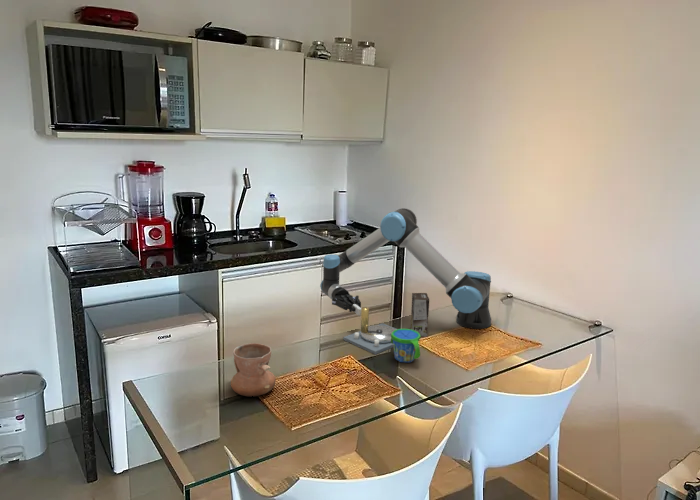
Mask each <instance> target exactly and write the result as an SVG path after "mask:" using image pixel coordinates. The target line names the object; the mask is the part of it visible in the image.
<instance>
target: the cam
mask: <svg viewBox="0 0 700 500" xmlns="http://www.w3.org/2000/svg"><path fill="white" fill-rule="evenodd" d="M369 315H370V308H369V307H368V306H361V315H360V317H361V319H360V331H361V337H362V339H364V340H366V341H368V342H372V343H374V342H375V340H376V339H378V340H379V343H389V342H391V334H392V332H393V331H394V330H395V329H394V328H395V327H394V328H391V327H392V326H391V327H388V326H389V325H388V326H382V325H379V324H376V325H369V318H370V317H369Z"/></svg>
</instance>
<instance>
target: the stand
mask: <svg viewBox="0 0 700 500" xmlns="http://www.w3.org/2000/svg"><path fill="white" fill-rule="evenodd" d="M378 325H382V326H388V327H391V328H394V329H395V330H397V329H398V328H396V327H393V326H390V325H389V324H386V323H384V322H382V323H379V324H378ZM342 338H343V339H342V340H343V341H345V342H347V343H349V342H350V343H349V344H351V343H352V345H353V346H355V347H359V348H360V349H363V350H364V351H367V352H369V353H371V354H373V355H378V354H380V353H383V352H385V351H387V350H390V349H392V348H393V344H392V343H391V342H389V343H379V340H378V339H376V340H375V342H374V343H372V342H368V341H366V340H364V339H362V337H361V330H359V331H355V332H354V333H351V334H349V335H345V336H343V337H342Z"/></svg>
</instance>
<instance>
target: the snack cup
mask: <svg viewBox="0 0 700 500" xmlns="http://www.w3.org/2000/svg"><path fill="white" fill-rule="evenodd" d="M396 329H397V330H394V331H393V332H392V334H391V343H392V344H393V347H392V348H393V355H394V359H395V360H396V361H398V362H400V363H405V364H407V363H412V362H413V361H414V360H417V359H419V358H420V357H421V351H420V344H419V343H420V342H419V341H420V340H421V337H422V336H420V334H419V333H418V332H417V331H415V330H411V328H396Z"/></svg>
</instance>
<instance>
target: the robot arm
mask: <svg viewBox="0 0 700 500" xmlns="http://www.w3.org/2000/svg"><path fill="white" fill-rule="evenodd" d="M417 222H418V219H417V216H416V213H414V212H413V211H412V210H411V209H408V208H399V209H395V210H394V211H391V212H389V213H387V214H386V215H385V216H384V217H382V219H381V222H380V227H379V228H377V229H376V230H374V231H373V232H371V233H370V234H368V235H367V236H365V237H364V238H363V239H361V240H359V241H358V242H357V243H355V244H354V245H352V246H351V247H349V248H347V249H346V250H345V251H343V252H342V253H340V254H339V255H337V254H326V255H324V257H323V262H322V266H323V268H322V269H323V273H322V277H323V278H322V280H321V282H320V285H319V287H320V290H321V291H322V292H323V294H324V295H325V296H327V297H329V298H330V299H331V305H333V306H336V307H338V308H340V309H342V310H345V311H348V310H349V312H350V313H352V312H353V313H355V314H356V315H357V316H360V317H361V308H362V302H361V300H360V298H359V297H360V296H359V295H355V296H353V295H352V294H350V292H349V290H347V289H346V288H345V287H344V286H342V285H341V284H340V273H341V272H343V271H345V270H347V269H349V268H351V267H352V266H353V265H355V264H356V263H358V262H359V261H360V260H362V259H364V258H366V257H367V256H368V255H370V254H372V253H374V252H375V251H376V250H378V249H380V248H381V247H383V246H384V245H385V244H387V243H388V242H393V243H395V244H396V245H397V246H398V247H399V248H405V249H406V250H407V251H408V252H409V253H410V254H411V255H412V256H413V257H414V258H415V259H416V260H417V261H418V262H419V263H420V264H421V265H422V266H423V267H424V268H425V269H426V270H427V271H428V272H429V273H430V274H431V275H432V276H433V277H434V278H435V279H436V280H437V281H438V282H439V283H440V284H441V286H443V287H444V288H445V294H446V295H447V296H448V297H449V298H450V299H451V304H452V307H454V309H455V310H456V311H458V312H457V314H456V317H455V318H456V321H455V322H456V323H457V324H458V325H460V326H462V327H464V328H468V329H474V330H475V329H476V330H477V329H478V330H480V329H487V328H489V327H491V325H492V317H491V312H490V309H489V305H490V304H489V303H490V294H491V283H492V280H491V279H492V278H491V274H489V273H487V272H482V271H475V270H474V271H473V270H470V271H469V270H467V271H464V273H463V272H460V271H459V270H457V268H455V266H454V265H453V264H451V262H449V261H448V259H446V258H445V257H444V255H442V254H441V253H440V252H439V251H438V250H437V249H436V248H435V247H434V246H433V245H432V244H431V243H430V242H429V240H427V239H426V238H425V237H424V236H423V235H422V234H421V233H420V227H419V226H418V225H417Z"/></svg>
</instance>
